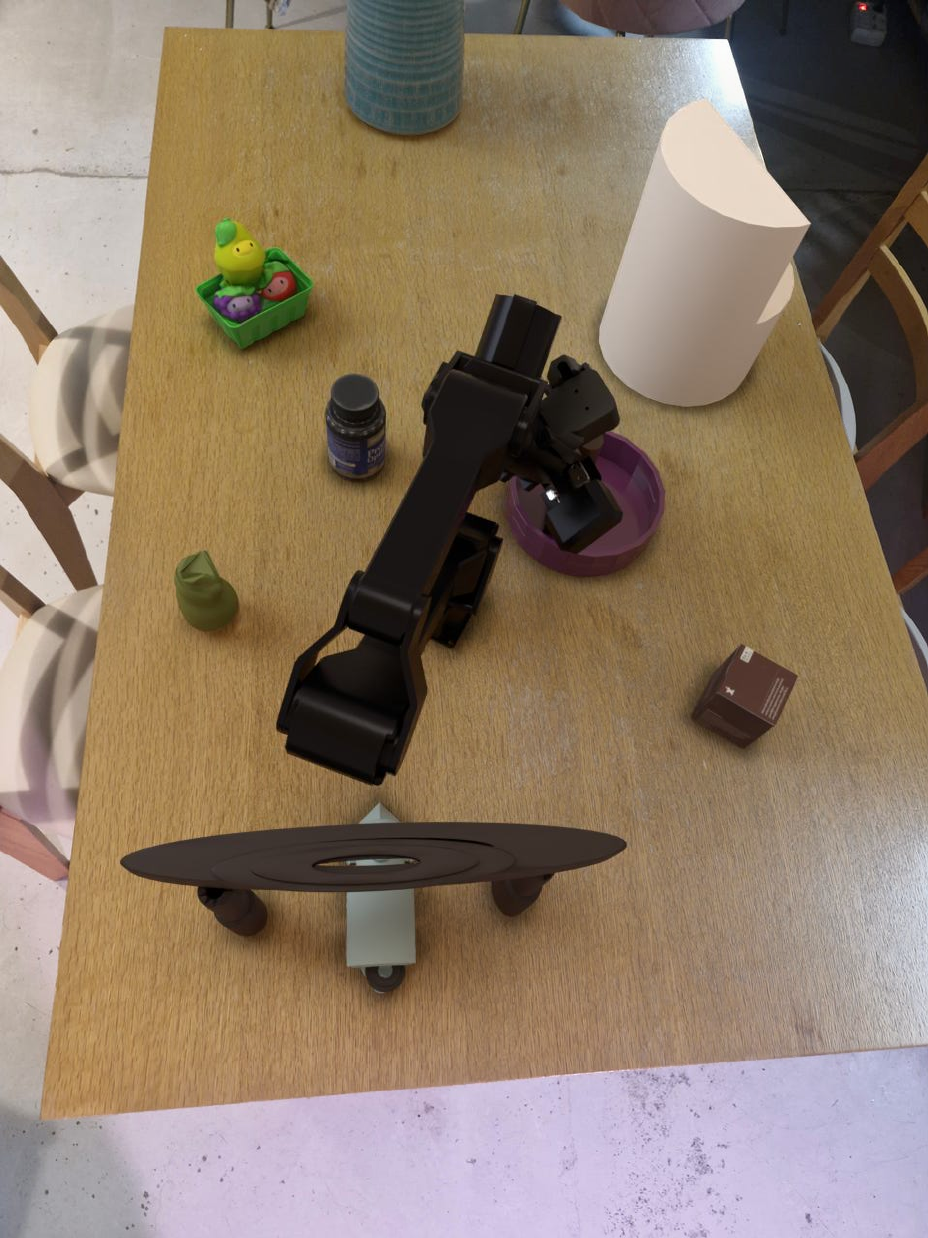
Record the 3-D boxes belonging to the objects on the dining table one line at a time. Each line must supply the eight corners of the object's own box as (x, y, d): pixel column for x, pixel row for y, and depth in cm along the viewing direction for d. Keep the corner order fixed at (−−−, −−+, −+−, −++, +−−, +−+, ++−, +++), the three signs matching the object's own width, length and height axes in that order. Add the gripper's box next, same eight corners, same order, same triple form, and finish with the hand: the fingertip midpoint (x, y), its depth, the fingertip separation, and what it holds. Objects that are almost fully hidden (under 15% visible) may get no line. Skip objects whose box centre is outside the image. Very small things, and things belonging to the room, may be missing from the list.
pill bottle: (377, 488, 91) (377, 423, 81) (322, 476, 91) (315, 409, 81) (391, 443, 94) (392, 374, 84) (337, 431, 94) (332, 361, 84)
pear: (176, 603, 83) (152, 553, 74) (227, 581, 85) (210, 529, 76) (199, 650, 81) (177, 603, 72) (251, 626, 83) (236, 578, 74)
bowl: (620, 602, 88) (632, 582, 84) (480, 536, 90) (484, 513, 85) (673, 488, 95) (686, 464, 90) (541, 428, 96) (548, 402, 92)
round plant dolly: (128, 736, 56) (617, 726, 59) (191, 808, 75) (559, 798, 78) (96, 997, 49) (650, 969, 53) (174, 1004, 68) (577, 983, 72)
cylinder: (635, 420, 98) (713, 241, 76) (575, 302, 105) (629, 107, 83) (775, 389, 102) (888, 210, 80) (708, 277, 109) (794, 84, 87)
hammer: (579, 540, 90) (607, 468, 78) (542, 532, 90) (564, 459, 78) (586, 494, 92) (614, 417, 81) (550, 486, 92) (573, 409, 81)
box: (743, 752, 82) (775, 728, 75) (687, 718, 83) (714, 692, 76) (767, 702, 84) (800, 675, 78) (713, 670, 85) (741, 641, 79)
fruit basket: (239, 362, 96) (222, 284, 86) (194, 314, 99) (173, 233, 89) (320, 317, 100) (313, 238, 90) (275, 273, 103) (264, 191, 93)
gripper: (632, 461, 66) (702, 499, 78) (527, 292, 72) (608, 352, 85) (525, 545, 71) (607, 567, 83) (437, 379, 77) (525, 423, 90)
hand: (588, 474), depth 85 cm, fingers closed on hammer, 2 cm apart
